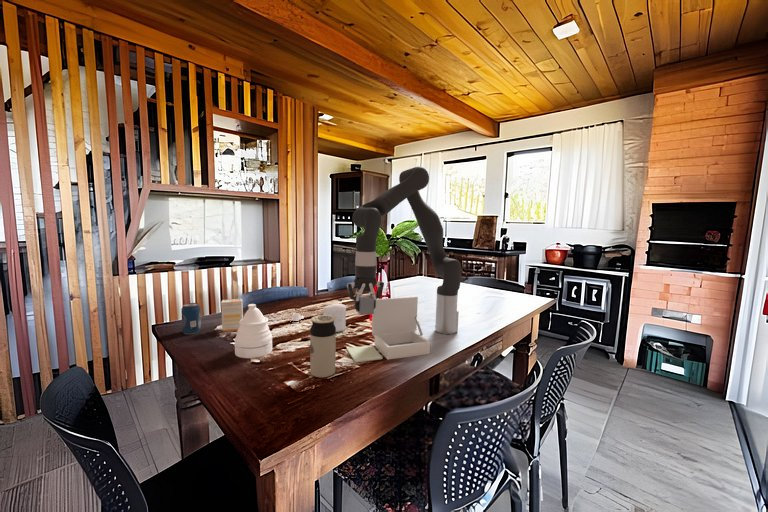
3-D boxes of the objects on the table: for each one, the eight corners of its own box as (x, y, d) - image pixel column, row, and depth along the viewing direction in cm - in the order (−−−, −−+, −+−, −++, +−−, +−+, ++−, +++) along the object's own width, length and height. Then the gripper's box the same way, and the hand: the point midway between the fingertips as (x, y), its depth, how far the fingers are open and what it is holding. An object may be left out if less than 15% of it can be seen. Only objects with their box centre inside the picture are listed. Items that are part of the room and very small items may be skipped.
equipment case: (415, 340, 137) (416, 296, 135) (432, 353, 124) (434, 305, 122) (371, 345, 131) (372, 299, 129) (384, 359, 117) (386, 309, 115)
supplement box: (243, 326, 149) (243, 298, 147) (242, 330, 144) (242, 301, 143) (223, 328, 146) (222, 299, 145) (221, 331, 141) (220, 302, 140)
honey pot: (269, 357, 117) (268, 307, 115) (230, 359, 115) (229, 308, 113) (274, 343, 129) (274, 299, 128) (240, 345, 127) (239, 299, 125)
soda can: (180, 331, 141) (179, 304, 139) (199, 328, 145) (198, 301, 144) (184, 336, 135) (182, 307, 134) (202, 332, 140) (201, 304, 139)
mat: (371, 346, 129) (371, 345, 129) (382, 358, 118) (382, 357, 118) (346, 349, 125) (346, 348, 125) (355, 362, 114) (355, 360, 114)
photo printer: (342, 328, 150) (343, 301, 149) (347, 330, 147) (347, 303, 146) (321, 331, 145) (321, 304, 144) (325, 334, 141) (325, 306, 140)
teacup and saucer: (300, 318, 165) (300, 310, 165) (309, 322, 159) (309, 313, 159) (284, 321, 159) (284, 313, 159) (292, 325, 153) (292, 317, 153)
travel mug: (335, 366, 111) (335, 314, 109) (335, 377, 103) (336, 321, 101) (310, 367, 110) (310, 314, 108) (309, 379, 102) (309, 322, 100)
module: (369, 310, 123) (369, 294, 123) (373, 313, 119) (374, 297, 118) (356, 311, 121) (356, 295, 121) (360, 315, 117) (360, 298, 116)
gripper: (381, 262, 124) (379, 306, 126) (343, 263, 119) (343, 309, 121) (388, 264, 117) (387, 311, 119) (349, 265, 112) (348, 314, 114)
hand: (365, 310), depth 120 cm, fingers closed on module, 5 cm apart
